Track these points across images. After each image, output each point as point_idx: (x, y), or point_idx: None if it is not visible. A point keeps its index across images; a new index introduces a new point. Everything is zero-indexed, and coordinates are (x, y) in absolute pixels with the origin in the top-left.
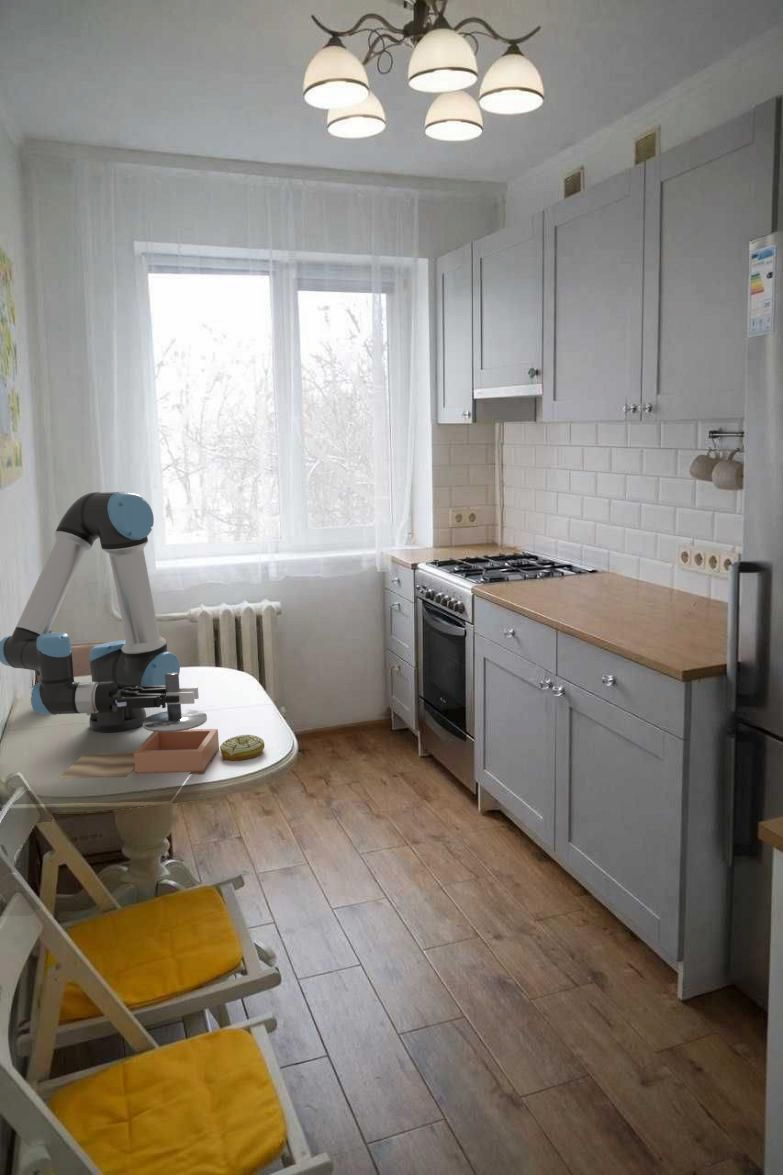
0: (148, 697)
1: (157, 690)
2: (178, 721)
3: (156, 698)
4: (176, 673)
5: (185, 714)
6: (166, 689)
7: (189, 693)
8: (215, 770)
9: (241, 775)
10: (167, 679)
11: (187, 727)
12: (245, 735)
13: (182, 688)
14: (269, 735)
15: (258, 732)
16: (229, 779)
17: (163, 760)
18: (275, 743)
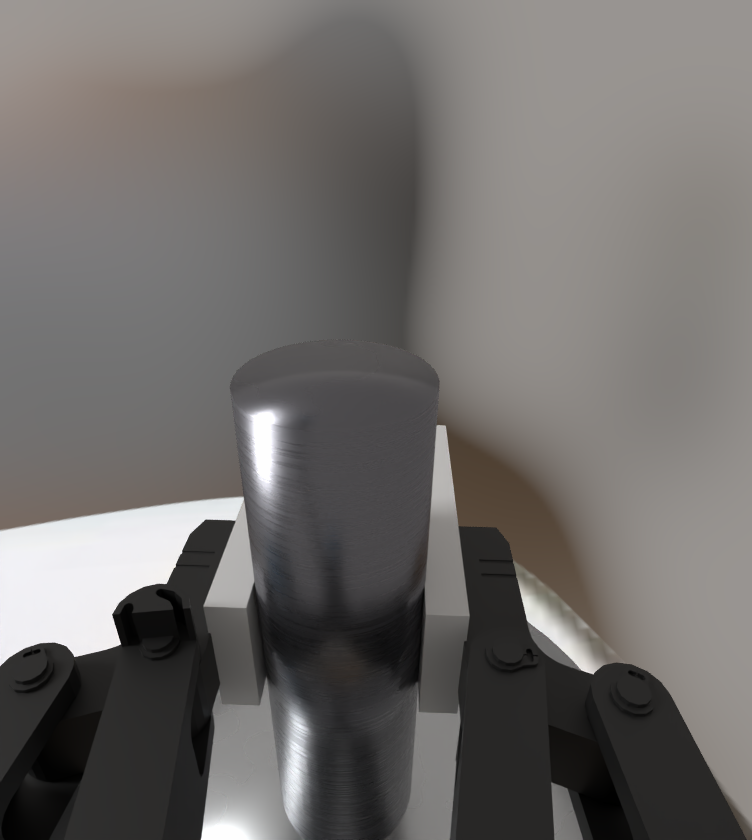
0: (730, 835)
1: (172, 824)
2: (431, 727)
3: (670, 709)
4: (305, 351)
5: (229, 712)
6: (402, 595)
7: (447, 448)
8: None
9: (528, 591)
10: (432, 449)
11: (546, 644)
12: None
13: None
14: (79, 552)
15: (7, 591)
16: (577, 624)
17: None
18: (192, 528)
